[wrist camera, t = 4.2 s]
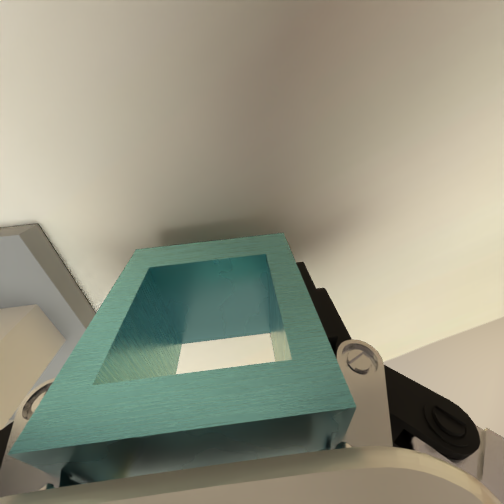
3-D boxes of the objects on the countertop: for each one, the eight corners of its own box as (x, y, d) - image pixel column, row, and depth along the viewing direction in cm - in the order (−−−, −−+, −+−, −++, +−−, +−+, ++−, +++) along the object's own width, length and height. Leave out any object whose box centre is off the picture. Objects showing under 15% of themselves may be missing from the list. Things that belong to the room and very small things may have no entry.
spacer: (136, 249, 10) (7, 454, 4) (283, 232, 10) (356, 407, 4) (168, 322, 13) (118, 506, 7) (283, 308, 13) (328, 476, 7)
